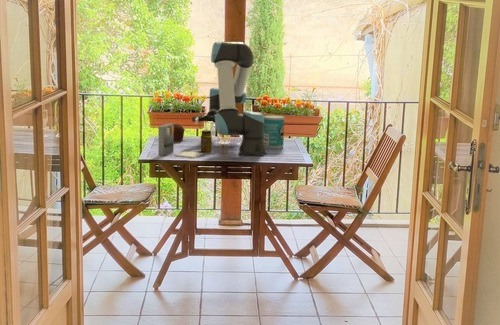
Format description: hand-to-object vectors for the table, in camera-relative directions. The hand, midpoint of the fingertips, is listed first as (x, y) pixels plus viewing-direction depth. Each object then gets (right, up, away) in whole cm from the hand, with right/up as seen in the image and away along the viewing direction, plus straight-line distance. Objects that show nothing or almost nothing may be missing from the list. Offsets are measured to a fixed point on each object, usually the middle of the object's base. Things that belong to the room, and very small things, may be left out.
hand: (207, 122), depth 409 cm
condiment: (-1, -17, -7) cm, 19 cm away
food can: (+38, -14, +14) cm, 42 cm away
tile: (-9, -19, -17) cm, 27 cm away
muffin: (-21, -10, +25) cm, 34 cm away
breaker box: (-22, -18, -15) cm, 32 cm away
